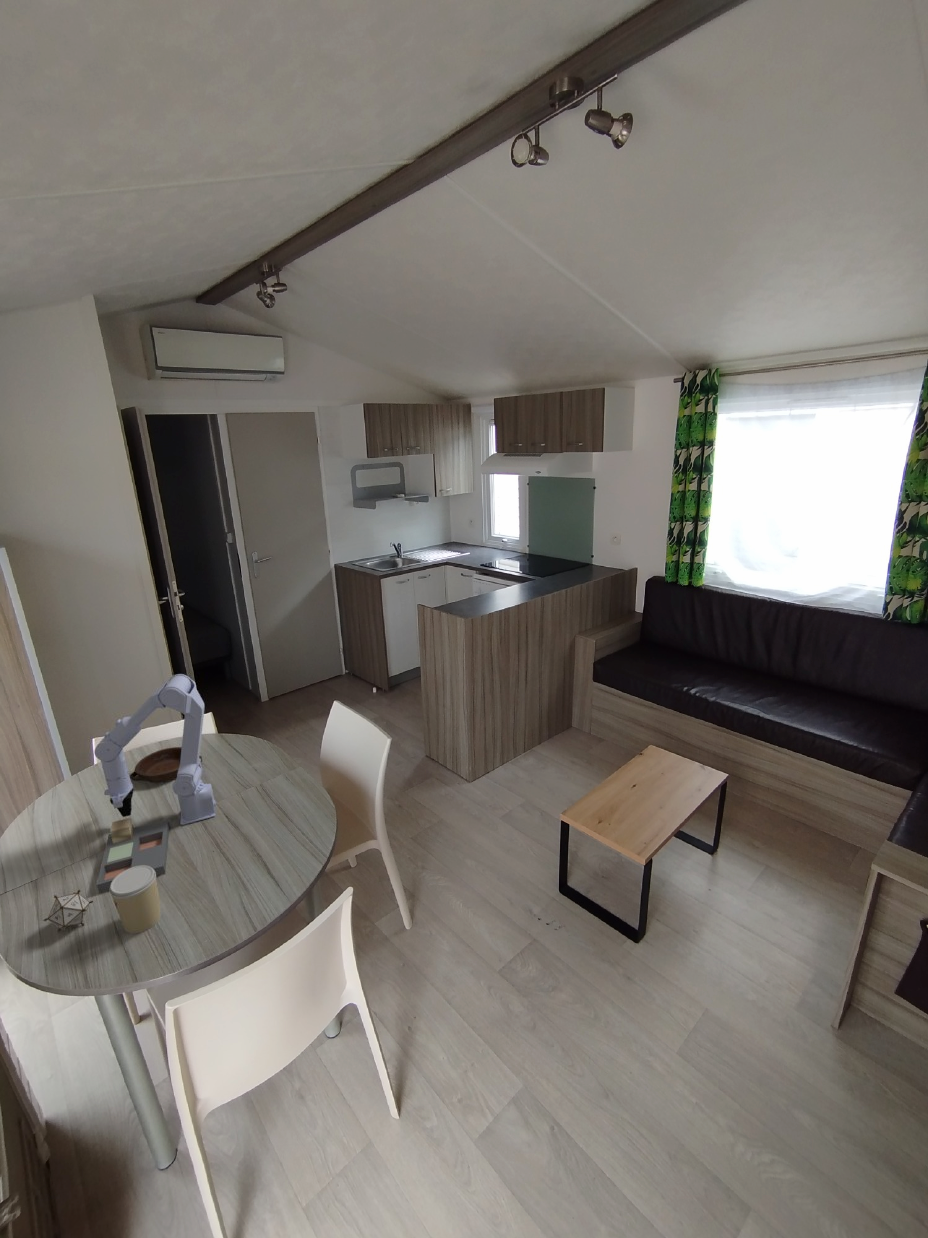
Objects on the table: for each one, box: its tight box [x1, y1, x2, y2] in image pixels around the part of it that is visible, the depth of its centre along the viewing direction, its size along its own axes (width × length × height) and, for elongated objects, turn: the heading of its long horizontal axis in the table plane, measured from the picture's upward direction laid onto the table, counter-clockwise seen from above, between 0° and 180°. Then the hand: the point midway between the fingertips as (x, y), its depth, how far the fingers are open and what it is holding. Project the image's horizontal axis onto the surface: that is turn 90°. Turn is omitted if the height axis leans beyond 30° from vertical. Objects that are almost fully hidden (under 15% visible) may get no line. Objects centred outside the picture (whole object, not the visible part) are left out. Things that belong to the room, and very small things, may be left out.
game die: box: [42, 889, 94, 933], centre depth 131 cm, size 9×8×10 cm
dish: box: [129, 746, 203, 784], centre depth 192 cm, size 18×22×5 cm
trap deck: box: [96, 818, 170, 894], centre depth 153 cm, size 15×21×2 cm
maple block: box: [109, 817, 134, 844], centre depth 157 cm, size 4×4×4 cm
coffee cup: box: [108, 865, 162, 934], centre depth 131 cm, size 9×9×12 cm
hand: (127, 815), depth 165 cm, fingers closed
